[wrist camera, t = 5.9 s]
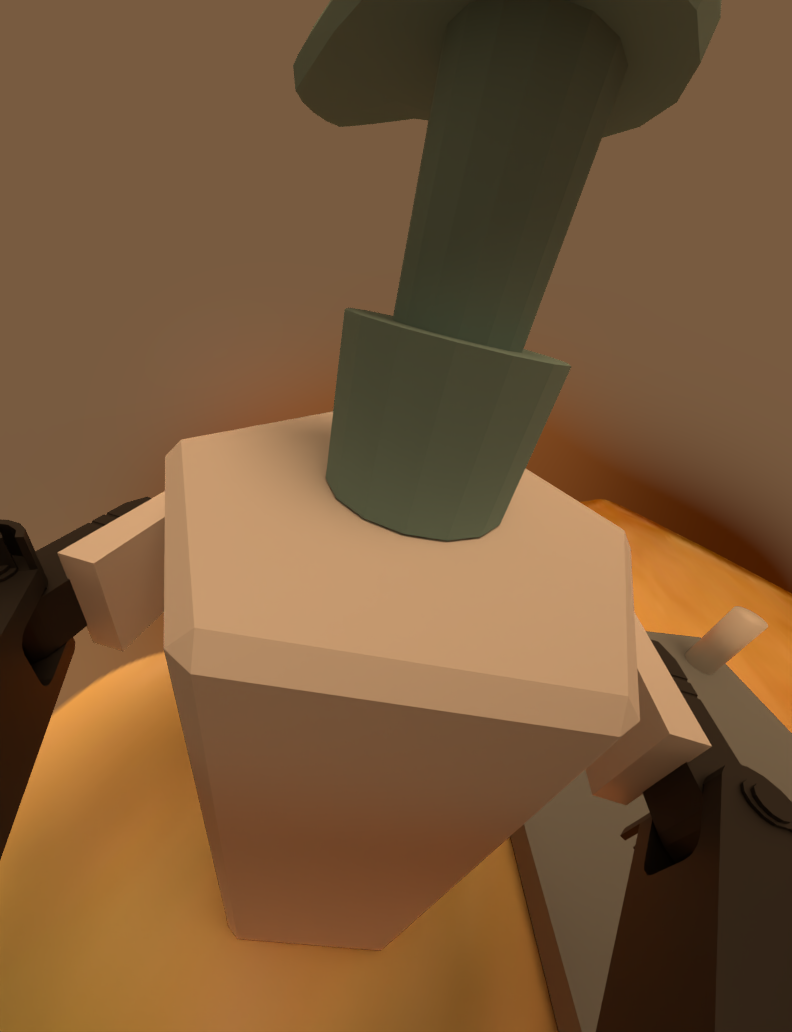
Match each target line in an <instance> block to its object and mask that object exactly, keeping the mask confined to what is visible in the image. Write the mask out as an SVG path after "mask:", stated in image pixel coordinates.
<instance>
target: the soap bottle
mask: <svg viewBox="0 0 792 1032" xmlns="http://www.w3.org/2000/svg"><path fill="white" fill-rule="evenodd" d="M720 13H721V0H331V1H330V2H329V4H328V5H327V7H326V8H325V10H324V11H323V13H322V14H321V16H320V17H319V19H318V20H317V22H316V23H315V25H314V27H313V29H312V31H311V33H310V35H309V37H308V39H307V40H306V42H305V44H304V45H303V47H302V49H301V51H300V52H299V54H298V56H297V58H296V61H295V63H294V65H293V67H294V78H295V89H296V92H297V93H298V95H299V97H300V98H301V100H302V102H303V103H304V104H306V106H307V107H309V108H310V109H311V110H312V111H313V112H314V113H315V114H317V115H318V116H320V117H321V118H323V119H324V120H326V121H328V122H330V123H332V124H335V125H337V126H339V127H341V126H342V127H343V126H356V125H366V124H376V123H383V122H391V121H399V120H406V119H422V120H429V121H428V128H427V133H426V138H425V144H424V149H423V155H422V160H421V166H420V172H419V177H418V183H417V188H416V194H415V199H414V205H413V210H412V216H411V221H410V227H409V232H408V238H407V244H406V249H405V254H404V260H403V265H402V271H401V277H400V282H399V288H398V293H397V299H396V304H395V310H394V316H390V315H386V314H380V313H376V312H371V311H366V310H360V309H353V308H346V309H345V313H344V322H343V330H342V339H341V348H340V356H339V365H338V374H337V384H336V391H335V400H334V410H333V412H328V413H323V414H317V415H312V416H307V417H302V418H296V419H290V420H285V421H280V422H274V423H269V424H264V425H258V426H253V427H247V428H242V429H237V430H232V431H226V432H220V433H215V434H210V435H204V436H199V437H193V438H188V439H183V440H180V441H179V442H178V444H177V445H176V446H175V447H174V448H173V449H172V450H171V451H170V452H169V453H168V454H167V455H166V456H165V555H164V652H165V656H166V660H167V665H168V669H169V673H170V678H171V682H172V686H173V690H174V695H175V699H176V703H177V708H178V712H179V716H180V720H181V725H182V729H183V733H184V738H185V742H186V746H187V750H188V755H189V759H190V763H191V768H192V772H193V776H194V780H195V785H196V789H197V793H198V798H199V802H200V806H201V810H202V815H203V819H204V823H205V828H206V832H207V836H208V840H209V845H210V849H211V853H212V858H213V862H214V866H215V870H216V875H217V879H218V883H219V888H220V892H221V896H222V900H223V905H224V909H225V913H226V918H227V922H228V926H229V928H230V929H231V931H232V932H233V933H234V935H235V936H236V937H237V938H238V939H245V940H257V941H269V942H281V943H294V944H306V945H318V946H330V947H343V948H355V949H367V950H379V951H380V950H382V949H383V948H384V947H385V946H386V945H388V944H389V943H390V942H391V941H392V940H393V939H395V938H396V937H397V936H398V935H399V934H400V933H401V932H403V931H404V930H405V929H406V928H407V927H408V926H409V925H410V924H412V923H413V922H414V921H415V920H416V919H417V918H418V917H419V916H421V915H422V914H423V913H424V912H425V911H426V910H427V909H428V908H430V907H431V906H432V905H433V904H434V903H435V902H436V901H437V900H439V899H440V898H441V897H442V896H443V895H444V894H445V893H447V892H448V891H449V890H450V889H451V888H452V887H453V886H454V885H456V884H457V883H458V882H459V881H460V880H461V879H462V878H463V877H465V876H466V875H467V874H468V873H469V872H470V871H471V870H472V869H474V868H475V867H476V866H477V865H478V864H479V863H480V862H482V861H483V860H484V859H485V858H486V857H487V856H488V855H489V854H491V853H492V852H493V851H494V850H495V849H496V848H497V847H498V846H500V845H501V844H502V843H503V842H504V841H505V840H506V839H507V838H509V837H510V836H511V835H512V834H513V833H514V832H515V831H517V830H518V829H519V828H520V827H521V826H522V825H523V824H524V823H526V822H527V821H528V820H529V819H530V818H531V817H532V816H533V815H535V814H536V813H537V812H538V811H539V810H540V809H541V808H542V807H544V806H545V805H546V804H547V803H548V802H549V801H550V800H552V799H553V798H554V797H555V796H556V795H557V794H558V793H559V792H561V791H562V790H563V789H564V788H565V787H566V786H567V785H568V784H570V783H571V782H572V781H573V780H574V779H575V778H576V777H577V776H579V775H580V774H581V773H582V772H583V771H584V770H585V769H587V768H588V767H589V766H590V765H591V764H592V763H593V762H594V761H596V760H597V759H598V758H599V757H600V756H601V755H602V754H603V753H605V752H606V751H607V750H608V749H609V748H610V747H611V746H612V745H614V744H615V743H616V742H617V741H618V740H619V739H620V738H622V737H623V736H624V735H625V734H626V733H627V732H628V731H629V730H631V729H632V728H633V727H634V726H635V725H636V724H637V723H638V722H640V709H639V691H638V673H637V654H636V636H635V618H634V600H633V581H632V563H631V548H630V545H629V543H628V540H627V537H626V534H625V531H624V530H623V529H621V528H620V527H618V526H616V525H615V524H613V523H612V522H610V521H608V520H607V519H605V518H604V517H602V516H600V515H599V514H597V513H596V512H594V511H592V510H591V509H589V508H588V507H586V506H584V505H583V504H581V503H580V502H578V501H577V500H575V499H573V498H572V497H570V496H569V495H567V494H565V493H564V492H562V491H561V490H559V489H557V488H556V487H554V486H552V485H551V484H549V483H548V482H546V481H545V480H543V479H541V478H540V477H538V476H536V475H535V474H533V473H532V472H530V471H529V470H527V469H525V468H526V466H527V464H528V461H529V459H530V457H531V454H532V453H533V450H534V448H535V446H536V444H537V441H538V439H539V437H540V435H541V433H542V430H543V428H544V426H545V424H546V421H547V419H548V417H549V415H550V412H551V410H552V408H553V406H554V404H555V401H556V399H557V397H558V395H559V393H560V390H561V388H562V386H563V384H564V381H565V379H566V377H567V375H568V373H569V370H570V368H571V366H570V365H569V364H568V363H566V362H563V361H560V360H557V359H554V358H551V357H548V356H545V355H541V354H538V353H535V352H532V351H528V350H525V349H523V348H524V346H525V343H526V340H527V338H528V335H529V332H530V329H531V327H532V324H533V321H534V319H535V316H536V313H537V311H538V308H539V305H540V303H541V300H542V297H543V295H544V292H545V289H546V287H547V284H548V281H549V279H550V276H551V273H552V270H553V268H554V265H555V262H556V260H557V257H558V254H559V252H560V249H561V246H562V244H563V241H564V238H565V236H566V233H567V230H568V227H569V225H570V222H571V219H572V217H573V214H574V211H575V209H576V206H577V203H578V201H579V198H580V195H581V193H582V190H583V187H584V184H585V182H586V179H587V176H588V174H589V171H590V168H591V166H592V163H593V160H594V158H595V155H596V152H597V150H598V147H599V144H600V141H601V139H602V137H606V136H610V135H613V134H617V133H620V132H624V131H627V130H630V129H634V128H637V127H640V126H641V125H643V124H645V123H646V122H648V121H649V120H650V119H652V118H653V117H655V116H657V115H658V114H660V113H661V112H663V111H664V110H666V109H667V108H669V107H670V106H672V105H673V104H675V103H676V102H677V101H678V99H679V97H680V96H681V94H682V93H683V91H684V89H685V87H686V86H687V84H688V83H689V81H690V79H691V78H692V76H693V74H694V73H695V71H696V69H697V68H698V66H699V64H700V63H701V60H702V58H703V56H704V53H705V51H706V49H707V47H708V44H709V42H710V40H711V38H712V35H713V33H714V31H715V29H716V26H717V24H718V22H719V20H720Z"/></svg>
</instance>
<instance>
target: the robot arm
mask: <svg viewBox="0 0 792 1032" xmlns="http://www.w3.org/2000/svg"><path fill="white" fill-rule="evenodd" d="M164 555H165V491H164V492H163V493H161V494H159V495H157V496H156V497H154V498H149V497H145V498H141V499H138V500H134V501H131V502H127V503H125V504H123V505H121V506H119V507H117V508H115V509H113V510H111V511H110V512H108V513H107V515H102V516H101V517H98V518H97V519H95V520H93V521H92V523H87V524H86V525H84V526H82V527H80V528H78V529H76V530H74V531H73V532H71V533H69V534H67V535H65V536H63V537H61V538H60V539H58V540H56V541H54V542H52V543H50V544H49V545H47V546H45V547H43V548H41V549H39V550H37V551H36V552H35V550H34V548H33V546H32V543H31V541H30V539H29V536H28V535H27V532H26V530H25V529H24V527H23V526H22V525H21V524H19V523H16V522H13V521H9V520H0V859H1V856H2V853H3V851H4V848H5V845H6V842H7V839H8V837H9V834H10V831H11V828H12V825H13V822H14V820H15V817H16V814H17V811H18V808H19V806H20V803H21V800H22V797H23V794H24V791H25V789H26V786H27V783H28V780H29V777H30V774H31V772H32V769H33V766H34V763H35V760H36V758H37V755H38V752H39V749H40V746H41V743H42V741H43V738H44V735H45V732H46V729H47V727H48V724H49V721H50V718H51V715H52V712H53V710H54V707H55V704H56V701H57V698H58V695H59V693H60V690H61V687H62V684H63V681H64V679H65V676H66V673H67V670H68V667H69V664H70V662H71V659H72V656H73V653H74V650H75V641H74V639H73V636H75V635H76V634H77V633H78V632H79V631H81V630H82V629H83V628H84V627H86V626H87V628H88V631H89V633H90V636H91V638H92V641H93V642H94V643H97V644H100V645H104V646H107V647H110V648H113V649H116V650H120V651H124V650H125V649H126V648H127V647H128V646H129V645H130V644H131V643H132V642H133V641H134V640H135V639H136V638H137V637H139V636H140V635H141V634H142V632H144V631H145V630H146V629H147V628H148V626H150V625H151V624H152V623H153V622H154V621H155V620H156V619H157V618H158V617H159V616H160V615H161V614H162V613H163V612H164ZM634 618H635V636H636V654H637V673H638V691H639V709H640V722H638V723H637V724H636V725H635V726H634V727H633V728H632V729H631V730H629V731H628V732H627V733H626V734H625V735H624V736H623V737H622V738H620V739H619V740H618V741H617V742H616V743H615V744H614V745H612V746H611V747H610V748H609V749H608V750H607V751H606V752H605V753H603V754H602V755H601V756H600V757H599V758H598V759H597V760H596V761H594V762H593V763H592V764H591V765H590V766H589V767H588V768H587V769H585V770H586V773H587V777H588V781H589V785H590V788H591V792H592V795H594V796H597V797H600V798H604V799H607V800H610V801H613V802H617V803H620V804H623V805H628V804H629V803H631V802H632V801H633V800H635V799H636V798H638V797H639V796H641V795H642V794H643V796H644V798H645V801H646V804H647V806H648V809H649V812H650V813H648V814H646V815H645V816H643V817H642V818H640V819H639V820H637V821H635V822H634V823H632V824H631V825H629V826H627V827H626V828H624V830H623V832H622V833H621V835H620V836H621V837H622V838H623V839H624V840H625V841H626V840H627V839H629V838H631V837H632V836H634V835H636V834H637V833H638V835H637V839H636V844H635V846H634V847H633V849H634V854H633V858H632V863H631V868H630V872H629V877H628V882H627V887H626V891H625V896H624V901H623V905H622V910H621V915H620V920H619V924H618V929H617V934H616V938H615V943H614V948H613V953H612V957H611V962H610V967H609V971H608V976H607V981H606V986H605V990H604V995H603V1000H602V1004H601V1009H600V1014H599V1019H598V1023H597V1028H596V1032H792V802H791V801H790V800H789V799H788V797H787V796H786V795H785V794H784V793H783V792H782V791H781V790H780V789H779V788H777V787H776V786H775V785H774V784H773V783H771V782H770V781H769V780H768V779H766V778H765V777H764V776H762V775H761V774H759V773H757V772H756V771H754V770H752V769H751V768H749V767H747V766H743V765H741V764H740V762H739V761H738V759H737V758H736V756H735V754H734V753H733V751H732V749H731V748H730V746H729V745H728V743H727V741H726V740H725V738H724V737H723V735H722V733H721V732H720V730H719V728H718V727H717V725H716V724H715V722H714V720H713V719H712V717H711V716H710V714H709V712H708V711H707V709H706V707H705V706H704V704H703V703H702V701H701V699H698V698H697V696H698V695H697V693H696V691H695V690H694V688H693V686H692V685H691V683H689V682H687V680H688V678H687V677H686V675H685V674H684V672H683V670H682V669H681V667H680V665H679V664H678V662H677V661H676V659H675V658H674V657H673V656H672V655H671V654H670V653H669V652H668V651H667V650H666V649H665V648H664V647H663V646H662V645H661V644H660V643H659V642H658V641H655V640H651V639H650V638H649V636H648V635H647V633H646V631H645V630H644V628H643V626H642V624H641V623H640V621H639V619H638V617H637V616H636V614H635V612H634Z"/></svg>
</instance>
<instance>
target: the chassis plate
mask: <svg viewBox="0 0 792 1032" xmlns="http://www.w3.org/2000/svg"><path fill="white" fill-rule="evenodd" d="M766 628H768V625H767V623H766V622H765V621H764V620H763V619H762V618H761V617H760V616H758V615H757V614H755V613H754V612H752V611H750V610H748V609H746V608H743V607H739V606H735V607H734V608H733V609H732V610H731V611H730V612H729V613H728V614H726V615H725V616H724V617H723V618H722V619H721V620H720V621H719V622H718V623H717V624H716V625H715V626H714V627H713V628H712V629H711V630H710V631H709V632H707V633H706V634H705V635H704V636H703V637H702V638H700V637H691V636H682V635H673V634H665V633H656V632H647V631H646V633H647V635H648V636H649V638H650V639H651V640H655V641H658V642H659V643H660V644H661V645H662V646H663V647H664V648H665V649H666V650H667V651H668V652H669V653H670V654H671V655H672V656H673V657H674V658H675V659H676V661H677V662H678V664H679V665H680V667H681V669H682V670H683V672H684V674H685V675H686V677H687V678H688V680H687V682H689V683H691V685H692V686H693V688H694V690H695V691H696V693H697V695H698V696H697V698H698V699H701V701H702V703H703V704H704V706H705V707H706V709H707V711H708V712H709V714H710V716H711V717H712V719H713V720H714V722H715V724H716V725H717V727H718V728H719V730H720V732H721V733H722V735H723V737H724V738H725V740H726V741H727V743H728V745H729V746H730V748H731V749H732V751H733V753H734V754H735V756H736V758H737V759H738V761H739V762H740V764H741V765H743V766H747V767H749V768H751V769H752V770H754V771H756V772H757V773H759V774H761V775H762V776H764V777H765V778H766V779H768V780H769V781H770V782H771V783H773V784H774V785H775V786H776V787H777V788H779V789H780V790H781V791H782V792H783V793H784V794H785V795H786V796H787V797H788V799H789V800H790V801H791V802H792V733H791V732H790V731H789V730H788V729H787V728H786V727H785V726H784V725H783V724H782V723H781V722H780V721H779V720H778V719H777V718H776V716H775V715H774V714H773V713H772V712H771V711H770V710H769V709H768V708H767V707H766V706H765V705H764V704H763V703H762V702H761V701H760V700H759V699H758V698H757V696H756V695H755V694H754V693H753V692H752V691H751V690H750V689H749V688H748V687H747V686H746V685H745V684H744V683H743V682H742V681H741V680H740V679H739V678H738V676H737V675H736V674H735V673H734V672H733V671H732V670H731V669H730V668H729V667H728V666H727V665H726V664H725V663H726V662H727V661H729V660H730V659H731V658H732V657H733V656H735V655H736V654H737V653H738V652H739V651H740V650H742V649H743V648H744V647H745V646H746V645H747V644H749V643H750V642H751V641H752V640H753V639H755V638H756V637H757V636H758V635H759V634H760V633H762V632H763V631H764V630H765V629H766ZM648 813H650V812H649V809H648V806H647V804H646V801H645V798H644V796H643V794H642V795H641V796H639V797H638V798H636V799H635V800H633V801H632V802H631V803H629V804H628V805H623V804H620V803H617V802H613V801H610V800H607V799H604V798H600V797H597V796H594V795H592V792H591V788H590V785H589V781H588V777H587V773H586V770H584V771H583V772H582V773H581V774H580V775H579V776H577V777H576V778H575V779H574V780H573V781H572V782H571V783H570V784H568V785H567V786H566V787H565V788H564V789H563V790H562V791H561V792H559V793H558V794H557V795H556V796H555V797H554V798H553V799H552V800H550V801H549V802H548V803H547V804H546V805H545V806H544V807H542V808H541V809H540V810H539V811H538V812H537V813H536V814H535V815H533V816H532V817H531V818H530V819H529V820H528V821H527V822H526V823H524V824H523V825H522V826H521V827H520V828H519V829H518V830H517V831H515V832H514V833H513V834H512V835H511V836H510V837H511V841H512V845H513V849H514V853H515V857H516V861H517V865H518V869H519V873H520V877H521V881H522V885H523V889H524V893H525V897H526V901H527V906H528V910H529V914H530V918H531V922H532V926H533V930H534V934H535V938H536V942H537V946H538V950H539V954H540V958H541V962H542V966H543V970H544V974H545V978H546V982H547V986H548V990H549V994H550V998H551V1002H552V1006H553V1010H554V1015H555V1019H556V1023H557V1027H558V1031H559V1032H596V1028H597V1023H598V1019H599V1014H600V1009H601V1004H602V1000H603V995H604V990H605V986H606V981H607V976H608V971H609V967H610V962H611V957H612V953H613V948H614V943H615V938H616V934H617V929H618V924H619V920H620V915H621V910H622V905H623V901H624V896H625V891H626V887H627V882H628V877H629V872H630V868H631V863H632V858H633V854H634V849H633V847H634V846H635V844H636V839H637V835H638V833H637V834H636V835H634V836H632V837H631V838H629V839H627V840H626V841H625V840H624V839H623V838H622V837H621V836H620V835H621V833H622V832H623V830H624V828H626V827H627V826H629V825H631V824H632V823H634V822H635V821H637V820H639V819H640V818H642V817H643V816H645V815H646V814H648Z"/></svg>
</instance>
